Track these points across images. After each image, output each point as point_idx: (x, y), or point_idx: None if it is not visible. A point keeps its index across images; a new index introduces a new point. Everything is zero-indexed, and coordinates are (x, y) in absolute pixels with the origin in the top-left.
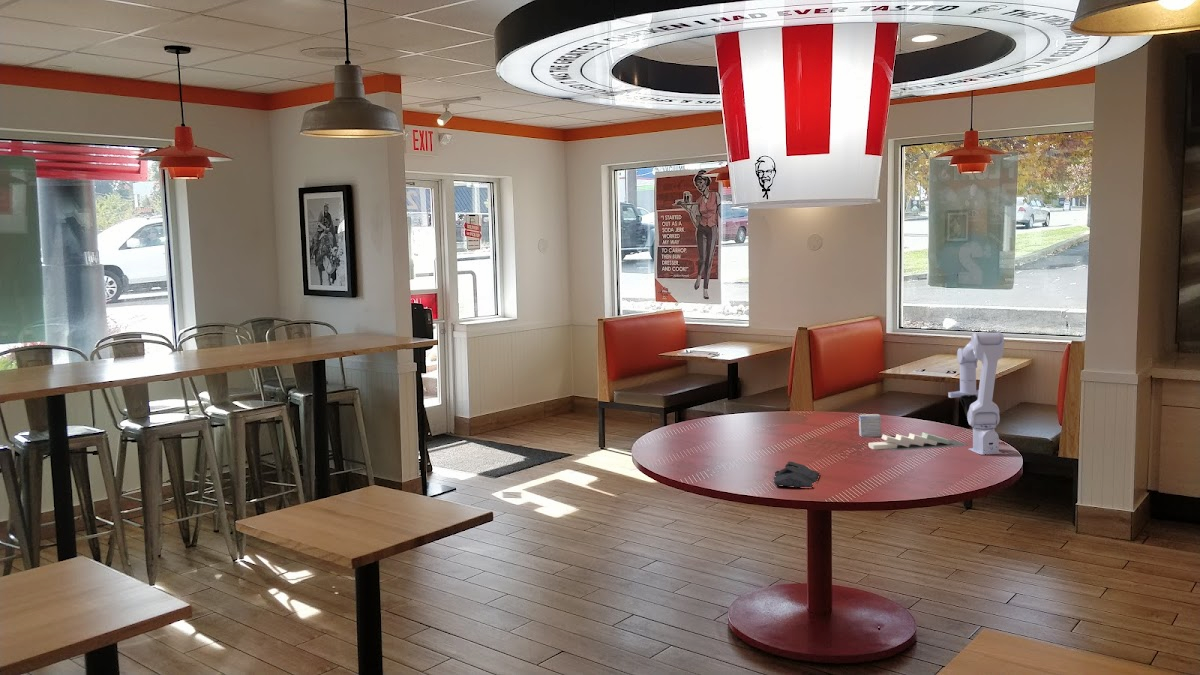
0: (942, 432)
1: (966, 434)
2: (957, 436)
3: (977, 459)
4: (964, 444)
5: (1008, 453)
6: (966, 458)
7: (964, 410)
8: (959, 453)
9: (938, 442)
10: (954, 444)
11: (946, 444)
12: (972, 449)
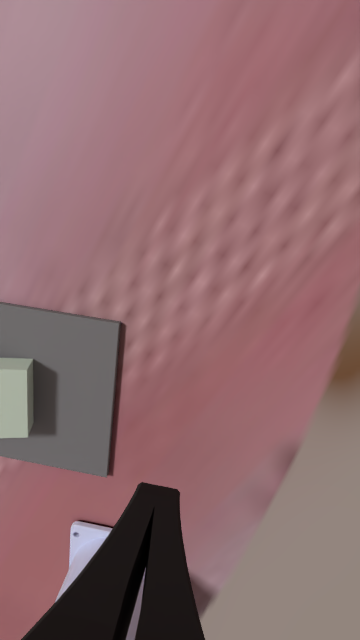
0: (203, 9)
1: (313, 176)
2: (212, 216)
3: None
4: (105, 448)
5: None
6: (4, 603)
7: (115, 526)
8: (14, 542)
9: (6, 353)
10: (60, 427)
11: None
12: (77, 546)
